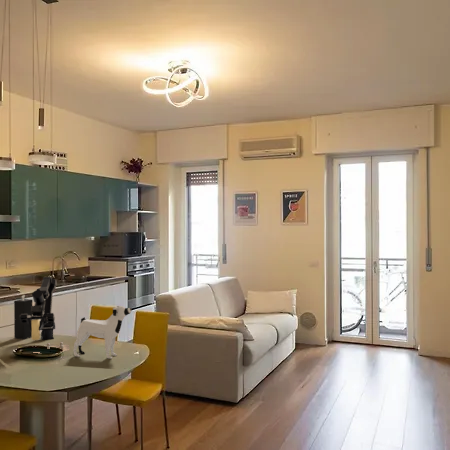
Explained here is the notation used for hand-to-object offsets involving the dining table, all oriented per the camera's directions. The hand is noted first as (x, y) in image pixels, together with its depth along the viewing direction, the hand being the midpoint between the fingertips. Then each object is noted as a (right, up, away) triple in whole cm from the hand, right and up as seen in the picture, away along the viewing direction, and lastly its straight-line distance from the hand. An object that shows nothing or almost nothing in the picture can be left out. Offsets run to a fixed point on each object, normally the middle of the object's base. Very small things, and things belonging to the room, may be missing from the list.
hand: (35, 330), depth 266 cm
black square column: (-23, -13, +37) cm, 45 cm away
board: (+5, -13, +3) cm, 14 cm away
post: (0, -5, +1) cm, 6 cm away
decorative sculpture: (+41, -13, -7) cm, 44 cm away
